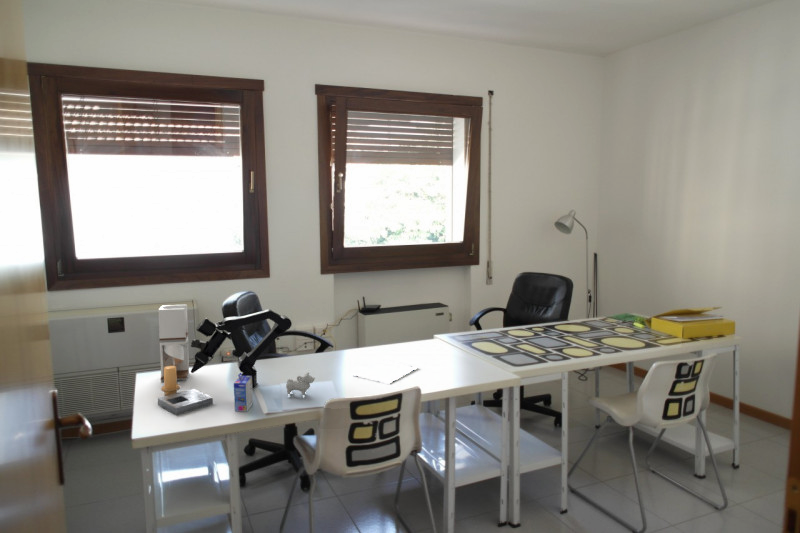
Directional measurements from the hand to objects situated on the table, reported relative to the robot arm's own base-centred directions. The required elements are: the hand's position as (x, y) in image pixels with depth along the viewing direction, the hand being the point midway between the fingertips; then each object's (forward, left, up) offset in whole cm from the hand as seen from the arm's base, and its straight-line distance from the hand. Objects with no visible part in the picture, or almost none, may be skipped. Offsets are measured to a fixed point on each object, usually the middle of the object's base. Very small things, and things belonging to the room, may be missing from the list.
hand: (193, 370), depth 234 cm
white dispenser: (+19, -18, -10) cm, 28 cm away
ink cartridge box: (-29, +11, -10) cm, 32 cm away
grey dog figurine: (-48, -6, -11) cm, 49 cm away
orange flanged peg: (+8, +5, -10) cm, 14 cm away
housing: (-4, +13, -10) cm, 17 cm away
